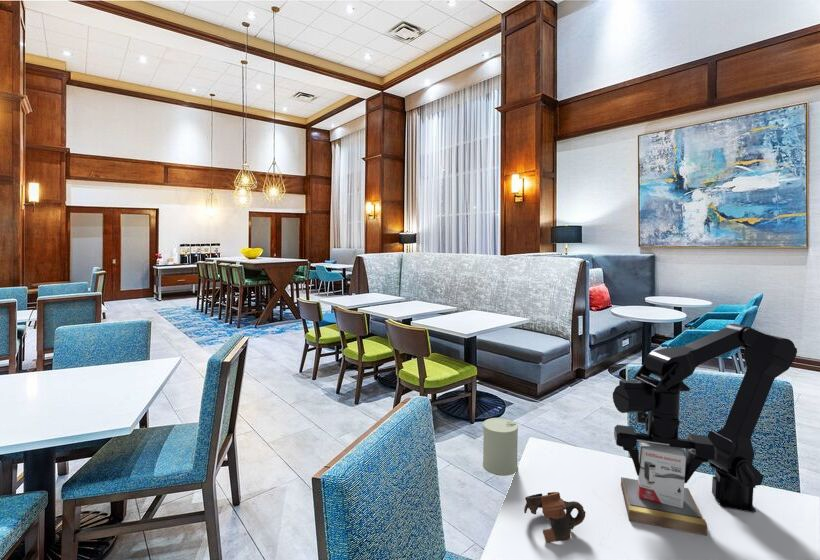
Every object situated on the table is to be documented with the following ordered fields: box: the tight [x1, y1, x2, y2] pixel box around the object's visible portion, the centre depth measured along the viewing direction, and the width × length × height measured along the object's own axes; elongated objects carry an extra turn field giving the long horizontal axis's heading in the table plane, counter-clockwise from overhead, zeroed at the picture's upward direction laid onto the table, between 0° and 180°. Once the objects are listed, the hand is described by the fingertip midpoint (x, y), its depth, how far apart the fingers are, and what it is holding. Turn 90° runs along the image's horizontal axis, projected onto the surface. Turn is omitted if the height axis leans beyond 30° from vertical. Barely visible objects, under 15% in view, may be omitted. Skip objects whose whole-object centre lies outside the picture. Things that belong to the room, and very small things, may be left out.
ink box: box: [637, 442, 686, 508], centre depth 92 cm, size 9×5×12 cm, turn 63°
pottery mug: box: [523, 491, 586, 543], centre depth 87 cm, size 12×10×8 cm
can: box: [482, 417, 519, 477], centre depth 110 cm, size 9×9×12 cm
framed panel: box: [620, 477, 708, 536], centre depth 93 cm, size 14×14×2 cm
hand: (660, 478), depth 92 cm, fingers closed on ink box, 9 cm apart
